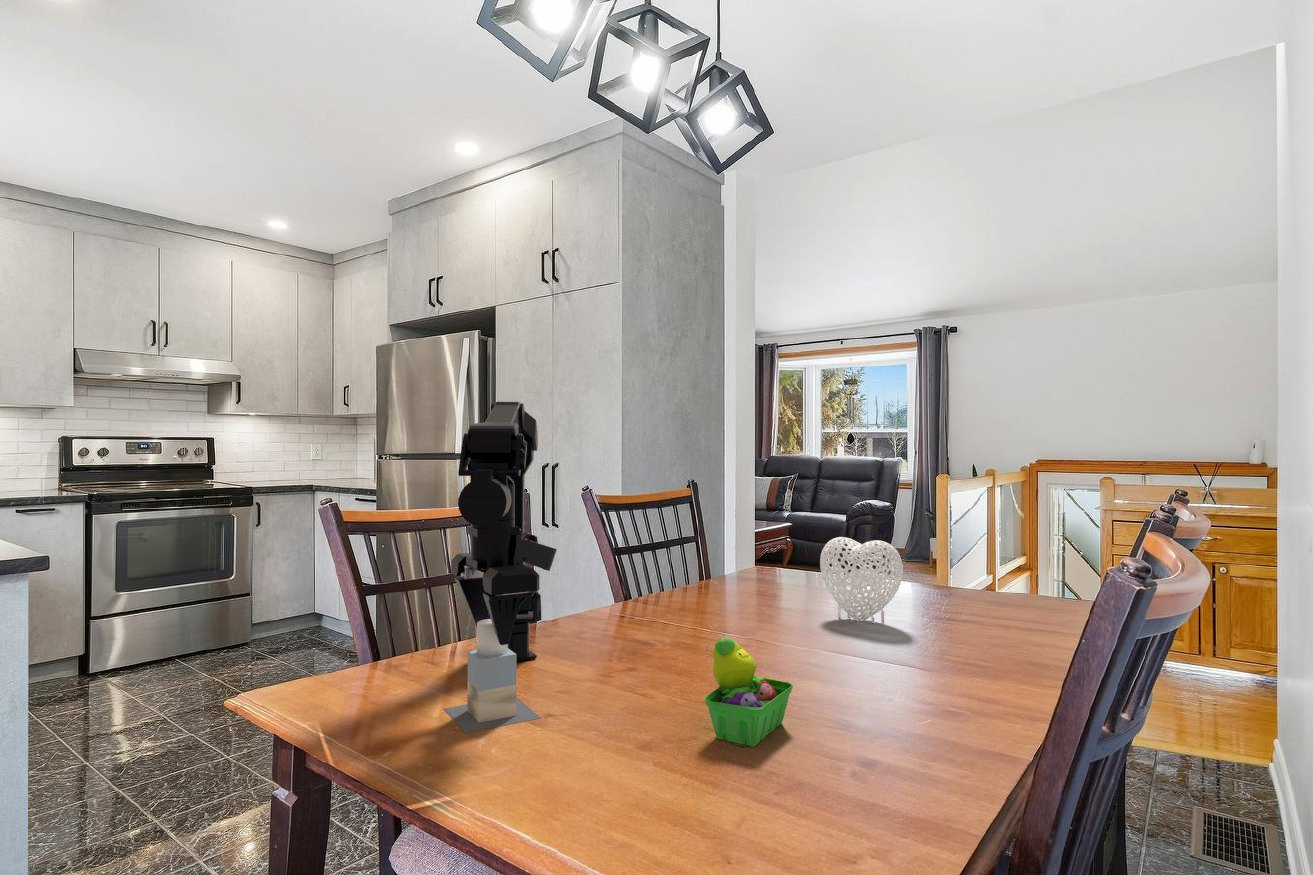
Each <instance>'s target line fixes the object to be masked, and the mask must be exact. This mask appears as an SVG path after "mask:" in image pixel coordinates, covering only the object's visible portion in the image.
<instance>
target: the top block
mask: <svg viewBox="0 0 1313 875" xmlns="http://www.w3.org/2000/svg"><path fill="white" fill-rule="evenodd" d="M517 662H518V661H517V654H515V653H514V652H513V651H511V650H510V649H508V652H507V653H506V654H504V655H500V656H492V657H486V656H480V655H478V654H477V648H476V649H471V650H470V649H469V650H467V683H468V682H470V683H471V684H472V685H473V686H474V687H475V688H476V689H477V690H478V691H483V690H489V689H495V688H501V687H506V686H512V685H516V686H517Z"/></svg>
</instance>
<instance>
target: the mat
mask: <svg viewBox="0 0 1313 875" xmlns="http://www.w3.org/2000/svg"><path fill="white" fill-rule="evenodd" d="M443 710H444V711H445V712H446V714H448V715H449V717H450V718H451V719H452V720H453V722H455V724H456V725H457V726H458V727H459V728H460V729H461V730H462V731H463V733H464V734H465V735H466V734H471V733H474V732H481V731H486V730H490V729H495V728H500V727H505V726H510V725H515V724H520V723H524V722H529V721H534V720H541V719H542V717H541V716H540V715H538V714H537V712H536V711H534V710H532V709H531V708H530V707H529V706H528V705H526V704H525V703H524V702H523V701H522V700H520V698H518V697H517V696H516V716H511V717H506V718H501V719H496V720H490V721H485V722H480V723H479V722H478V721H477V720H476V719H475V718H474V717H473V716H472V715H471V714H470V713H469V712H468V711H467V703H466V704H462V705H455V706H450V707H446V708H443Z"/></svg>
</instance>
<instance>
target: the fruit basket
mask: <svg viewBox="0 0 1313 875" xmlns="http://www.w3.org/2000/svg"><path fill="white" fill-rule="evenodd" d="M712 652H713V653H712V657H713V668H712V669H713V675H714V679H715V681H716V683H717V684H718V686H719V687H718V688H716V689H715V690H713V691H712V692H710V693H708V694H707V695H706V696H704V700H705V704H706V706H707V707H708V708H707V709H708V712H709V716H710V719H711V722H712V726H713V729H714V732H715V734H714V735H715V737H716V739H719V740H725V741H728V742H731V743H735V744H739V745H747V746H749V747H756V746H757V745H758V744H759V743H760V741H763V740H764V739H765V738H766V737H767V736H768V735H769V734H771V733H772V732H774V730H776V728H778V727H779V726H781V725H782V724H783V720H784V717H785V713H786V710H787V705H788V701H789V698H790V695H791V693H792V690H793V687H794V684H793V683H791V682H789V681H784V680H780V679H779V680H777V679H774V678H773V679H772V678H767V677H762V676H757V675H755V674H756V673H755V672H756V669H757V668H758V667H757V662H756V660H755V659H754V657H753V656H751V655H750V654H749V652H747V651H746V650H745V649H744V648H743V647H742V646H740V645H739V644H738V643H737V642H736V641H734V639H732V638H730V637H724V638H723V637H722V638H721V637H720V638H718V639H717V641H716V642H715V645H714V648H713V651H712Z"/></svg>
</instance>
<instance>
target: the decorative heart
mask: <svg viewBox="0 0 1313 875" xmlns="http://www.w3.org/2000/svg"><path fill="white" fill-rule="evenodd" d="M843 549H845V550H843ZM840 554H842V556H841V555H840ZM884 557H885V558H884ZM839 560H840V561H839ZM888 560H889V561H888ZM845 561H846V562H847V563H846V562H845ZM884 563H885V564H884ZM819 564H820V565H819V567H820V573H821V576H822V580H823V582H824V585H825V586H826V589H827V590H828V593H829V594H830V595H831V597H832V598H833V599H834V601H835V602H836V604H837V618H838V617H841V615H842V610H843V611H844V612H845V613H846V614H847V619H848V618H850V619H851V618H852V619H853V620H854V621H855V620H856V621H855V622H858V621H863V622H865V621H866V620H868V619H870V618H871V623H874V624H875V617H874V616H875V615H876V614H877V613H879V612H881V613H880V614H881V615H880V616H881V618H880V621H881V622H880V624H881V623H882V624H884V625H885V610H883V609H884V608H885V607H886V606H887V605H888V604H889V603H890V602H891V601H892V600H893V598H895V595H896V594H897V592H898V591H899V589H900V586H901V584H902V580H903V572H904V565H903V561H902V558H901V555H900V553H899V551H898V550H897V549H896V548H895V547H894V545H892V544H891V543H889V542H886V541H883V540H878V539H877V540H876V539H875V540H869V541H865V542H864V543H860V542H858V541H856V540H854V539H852V538H849V537H846V536H845V537H844V536H838V537H835V538H832V539H830V540H828V542H826V544H825V545H824V547H823V548H822V550H821V553H820V559H819ZM830 564H831V565H830ZM851 564H852V566H851ZM883 564H884V565H883ZM842 566H844V568H843V567H842ZM857 566H858V567H859V568H857ZM873 566H875V568H873ZM849 571H850V572H849ZM889 571H890V574H889ZM847 587H849V588H850V589H847ZM868 587H869V588H870V589H868ZM865 594H867V595H865ZM859 595H860V596H859ZM841 618H842V617H841Z"/></svg>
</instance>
